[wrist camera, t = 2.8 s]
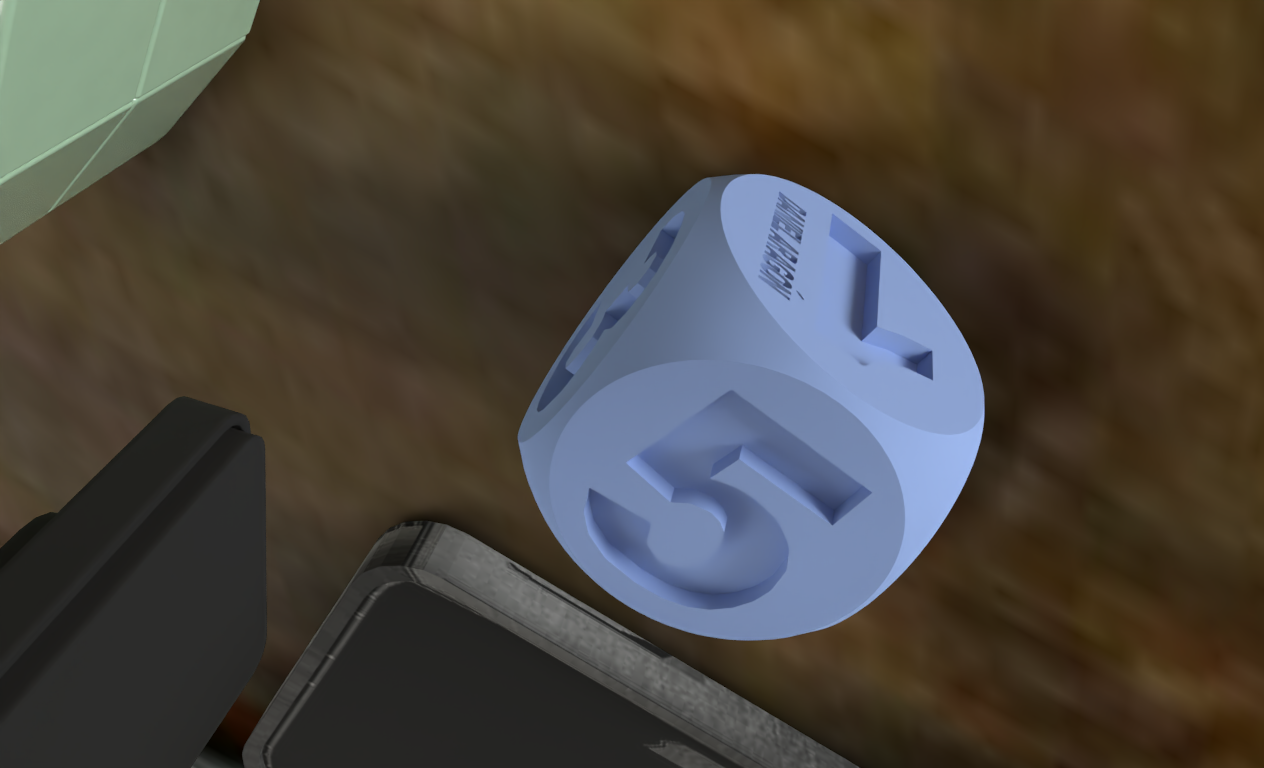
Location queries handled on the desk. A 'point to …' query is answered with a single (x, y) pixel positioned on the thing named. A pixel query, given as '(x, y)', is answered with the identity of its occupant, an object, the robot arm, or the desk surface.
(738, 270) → the decorative dice
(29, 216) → the bowl
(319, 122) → the desk surface
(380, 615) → the phone
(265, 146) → the desk surface
